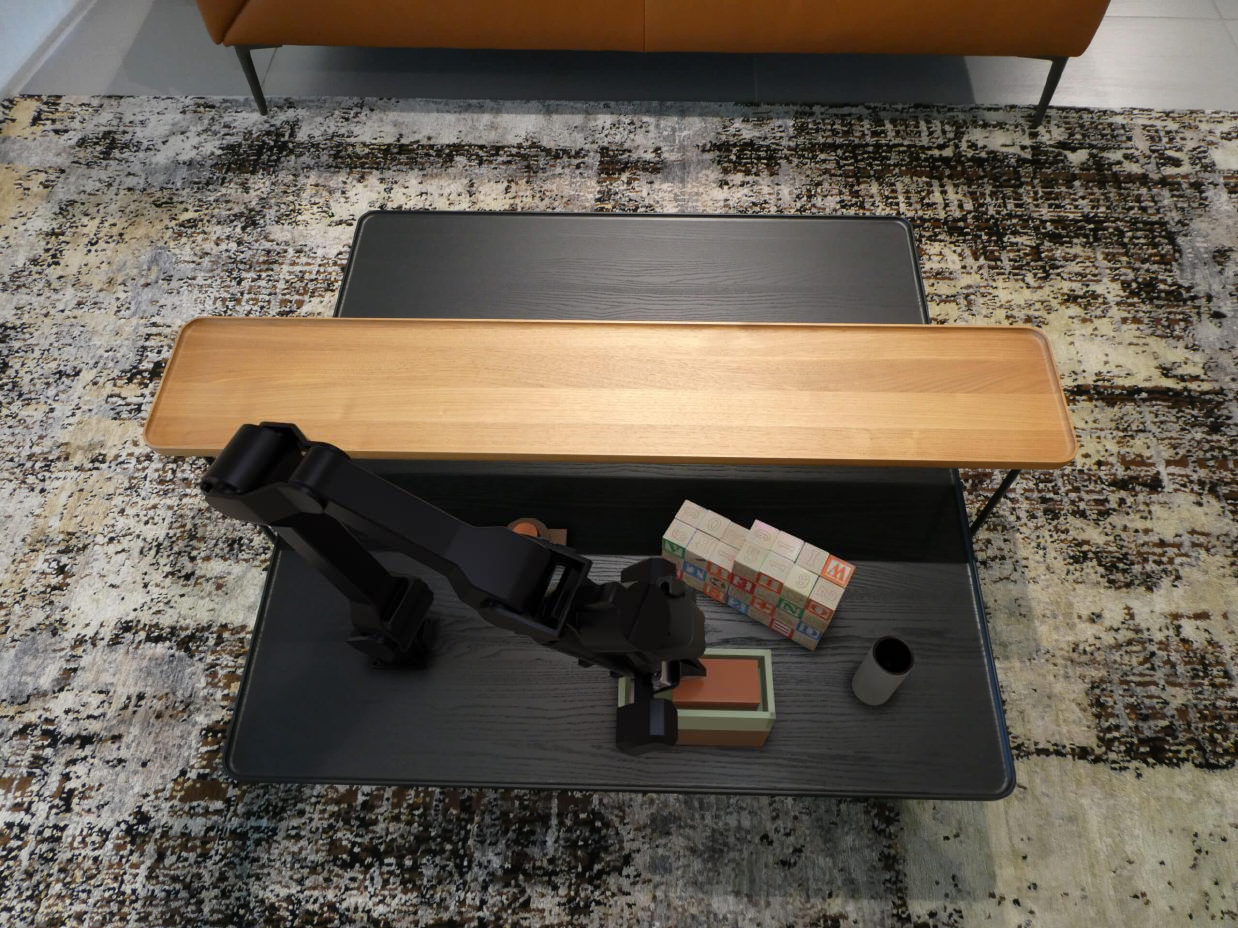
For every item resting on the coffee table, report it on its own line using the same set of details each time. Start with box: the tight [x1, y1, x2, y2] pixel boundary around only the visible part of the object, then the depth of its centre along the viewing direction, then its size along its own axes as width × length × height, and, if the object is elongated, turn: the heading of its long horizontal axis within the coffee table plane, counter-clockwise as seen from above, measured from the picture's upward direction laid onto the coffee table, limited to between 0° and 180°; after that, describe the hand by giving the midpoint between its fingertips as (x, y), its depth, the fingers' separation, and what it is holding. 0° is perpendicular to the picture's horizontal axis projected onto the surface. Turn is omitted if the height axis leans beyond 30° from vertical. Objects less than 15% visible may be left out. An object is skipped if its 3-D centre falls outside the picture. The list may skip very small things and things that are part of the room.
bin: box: [617, 647, 777, 747], centre depth 93 cm, size 16×7×11 cm, turn 88°
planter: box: [851, 634, 916, 707], centre depth 94 cm, size 4×4×10 cm
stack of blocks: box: [661, 499, 856, 652], centre depth 100 cm, size 21×6×12 cm, turn 59°
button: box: [513, 523, 538, 537], centre depth 107 cm, size 3×3×2 cm
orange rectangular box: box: [671, 659, 760, 711], centre depth 90 cm, size 5×5×9 cm
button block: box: [506, 517, 568, 567], centre depth 108 cm, size 10×6×2 cm, turn 88°
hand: (703, 673), depth 87 cm, fingers closed
